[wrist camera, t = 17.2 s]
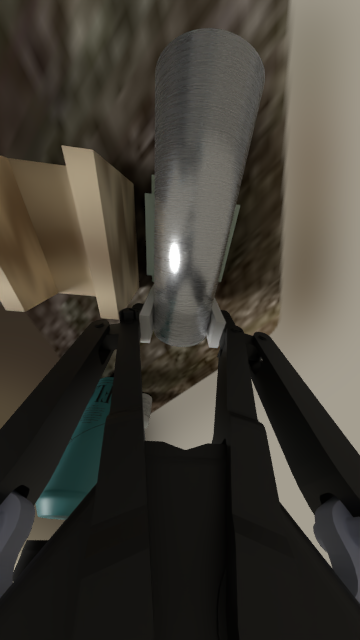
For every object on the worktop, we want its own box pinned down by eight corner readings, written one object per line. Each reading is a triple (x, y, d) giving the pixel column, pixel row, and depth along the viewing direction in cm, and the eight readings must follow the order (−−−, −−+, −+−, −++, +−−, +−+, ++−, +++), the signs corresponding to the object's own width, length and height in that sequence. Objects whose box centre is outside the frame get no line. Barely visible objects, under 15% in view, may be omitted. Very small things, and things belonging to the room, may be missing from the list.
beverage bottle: (124, 367, 27) (37, 592, 11) (137, 387, 31) (87, 581, 14) (92, 371, 28) (-36, 588, 11) (109, 391, 32) (29, 578, 15)
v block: (153, 179, 13) (144, 164, 10) (231, 189, 14) (247, 178, 10) (153, 277, 18) (147, 289, 15) (210, 283, 19) (217, 296, 15)
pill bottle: (141, 404, 35) (132, 446, 28) (128, 395, 33) (115, 438, 26) (156, 399, 34) (150, 442, 27) (144, 390, 32) (135, 433, 25)
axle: (161, 116, 9) (145, 15, 5) (240, 128, 9) (292, 42, 5) (157, 314, 16) (149, 344, 12) (202, 318, 17) (210, 348, 12)
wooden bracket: (28, 170, 13) (-112, 121, 7) (133, 183, 14) (92, 149, 7) (65, 280, 19) (6, 310, 12) (139, 287, 19) (118, 319, 13)
